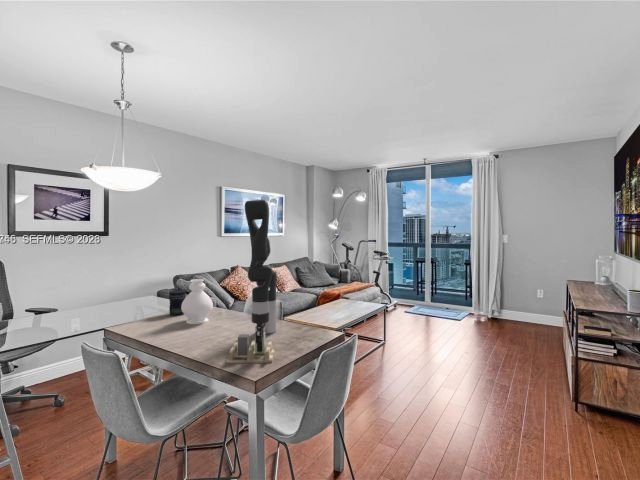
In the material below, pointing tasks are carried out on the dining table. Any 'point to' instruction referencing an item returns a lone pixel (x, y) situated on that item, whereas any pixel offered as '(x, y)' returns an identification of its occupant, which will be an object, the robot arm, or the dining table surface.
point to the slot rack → (251, 354)
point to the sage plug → (262, 345)
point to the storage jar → (176, 302)
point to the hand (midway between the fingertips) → (260, 349)
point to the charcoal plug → (243, 344)
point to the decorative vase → (197, 303)
